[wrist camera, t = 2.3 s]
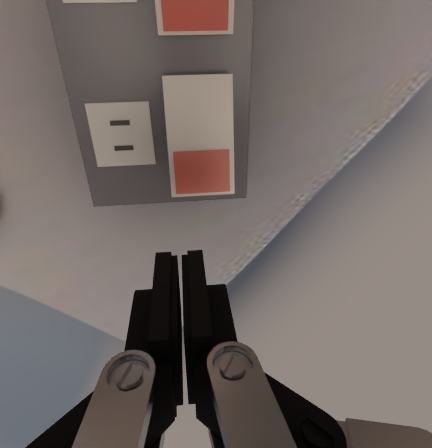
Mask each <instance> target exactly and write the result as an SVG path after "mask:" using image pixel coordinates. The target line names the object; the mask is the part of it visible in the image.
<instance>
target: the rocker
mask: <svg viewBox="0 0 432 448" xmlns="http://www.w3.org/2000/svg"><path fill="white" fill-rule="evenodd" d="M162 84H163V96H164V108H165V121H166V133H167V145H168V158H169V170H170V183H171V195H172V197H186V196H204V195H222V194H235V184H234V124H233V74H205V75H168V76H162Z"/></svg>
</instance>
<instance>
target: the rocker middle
mask: <svg viewBox="0 0 432 448" xmlns="http://www.w3.org/2000/svg"><path fill="white" fill-rule="evenodd" d="M155 9H156V18H157V28H158V35H214V34H233V24H234V0H155Z"/></svg>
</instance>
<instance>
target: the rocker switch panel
mask: <svg viewBox="0 0 432 448" xmlns="http://www.w3.org/2000/svg"><path fill="white" fill-rule="evenodd" d="M253 1H254V0H234V24H233V34H214V35H158V28H157V18H156V9H155V0H46V3H47V7H48V11H49V16H50V20H51V24H52V29H53V33H54V37H55V41H56V46H57V50H58V54H59V59H60V63H61V67H62V72H63V76H64V80H65V84H66V89H67V93H68V97H69V102H70V106H71V110H72V115H73V119H74V123H75V127H76V132H77V136H78V140H79V145H80V149H81V153H82V158H83V162H84V166H85V170H86V175H87V179H88V183H89V188H90V192H91V196H92V200H93V205H94V206H111V205H129V204H146V203H163V202H180V201H198V200H215V199H232V198H246V189H247V162H248V135H249V108H250V82H251V55H252V28H253ZM205 74H233V124H234V184H235V194H222V195H204V196H186V197H172V195H171V183H170V170H169V158H168V145H167V133H166V121H165V108H164V96H163V84H162V76H168V75H205Z"/></svg>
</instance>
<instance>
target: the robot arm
mask: <svg viewBox="0 0 432 448" xmlns="http://www.w3.org/2000/svg"><path fill="white" fill-rule="evenodd" d="M187 252H188V255H182V282H183V320H184V344H185V359H186V374H187V388H188V402H189V404H196V418H197V419H198V420H199V421H201V422H202V423H203V424H204V425H205V426H206V427H208V431H209V437H210V441H211V446H212V448H432V433H430V432H428V431H427V430H424V429H421V428H417V427H411V426H403V425H395V424H388V423H381V422H372V421H365V420H358V419H350V418H346V420H345V422H344V421H337V420H335V419H334V418H333V417H331V416H330V415H329V414H328V413H326V412H325V411H323V410H321V409H320V408H318V407H317V406H315V405H314V404H312V403H311V402H309V401H308V400H306V399H305V398H303V397H302V396H300V395H298V394H297V393H295V392H294V391H292V390H290V389H289V388H288V387H286V386H285V385H283V384H281V383H280V382H278V381H277V380H275V379H274V378H272V377H271V376H269V375H268V374H266V373H264V371H263V369H262V367H261V365H260V362H259V360H258V358H257V356H256V354H255V353H254V351H253V350H252V349H251V348H250V347H248V346H247V345H245V344H243V343H240V342H237V338H236V332H235V328H234V323H233V318H232V313H231V308H230V303H229V298H228V293H227V288H226V285H225V284H219V285H206V277H205V269H204V261H203V253H202V250H194V251H187ZM182 374H183V371H182V320H181V302H180V288H179V274H178V260H177V255H176V256H172V255H171V252H160V253H156V256H155V267H154V277H153V287H152V289H148V290H135V292H134V297H133V303H132V309H131V315H130V321H129V327H128V333H127V339H126V346H125V351H124V352H121V353H119V354H117V355H116V356H114V357H112V358H111V359H110V360H109V361H108V362H107V363H106V365H105V367H104V368H103V370H102V372H101V375H100V377H99V380H98V382H97V385H96V387H95V390H94V391H93V392H92V393H91V394H90V395H88V396H87V397H86V398H85V399H84V400H82V401H81V402H80V403H79V404H78V405H76V406H75V407H74V408H73V409H71V410H70V411H69V412H68V413H67V414H65V415H64V416H63V417H62V418H61V419H59V420H58V421H57V422H56V423H55V424H54V425H52V426H51V427H50V428H49V429H47V430H46V431H45V432H44V433H43V434H41V435H40V436H39V437H38V438H37V439H35V440H34V441H33V442H32V443H30V444H29V445H28V446H27V447H26V448H163V444H164V432H165V430H166V429H167V428H168V427H169V426H170V425H171V424H172V423H173V422H174V420H175V417H176V416H177V411H176V410H177V409H176V407H177V405H183V375H182Z"/></svg>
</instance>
